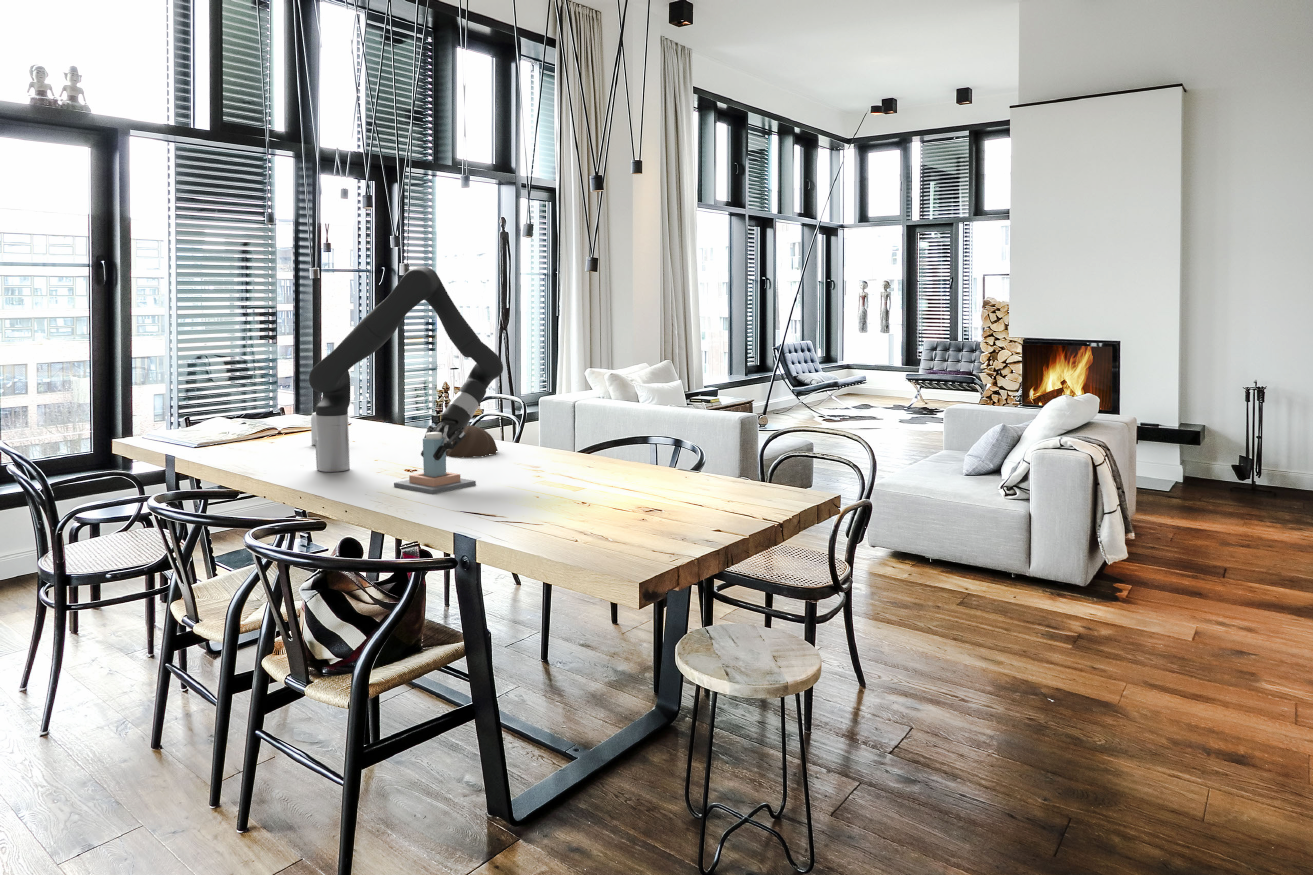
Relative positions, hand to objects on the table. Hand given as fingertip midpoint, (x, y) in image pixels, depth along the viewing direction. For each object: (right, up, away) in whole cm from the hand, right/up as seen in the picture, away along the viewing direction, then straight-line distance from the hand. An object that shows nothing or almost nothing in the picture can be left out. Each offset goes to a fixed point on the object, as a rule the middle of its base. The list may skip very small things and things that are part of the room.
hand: (429, 457), depth 252 cm
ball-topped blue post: (+1, -5, +2) cm, 6 cm away
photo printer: (-56, +3, +74) cm, 93 cm away
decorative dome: (-1, 0, +60) cm, 60 cm away
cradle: (+1, -8, +3) cm, 9 cm away
